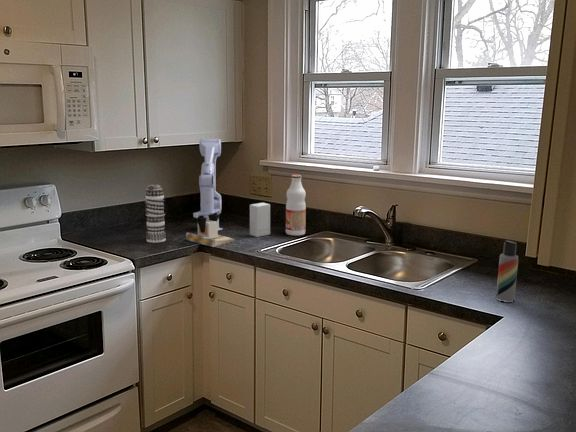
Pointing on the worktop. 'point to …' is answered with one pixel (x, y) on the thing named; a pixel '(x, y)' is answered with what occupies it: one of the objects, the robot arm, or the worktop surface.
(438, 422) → the worktop surface
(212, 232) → the carton
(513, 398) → the worktop surface
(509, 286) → the lotion bottle
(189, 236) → the tan flat slab
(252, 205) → the skincare box
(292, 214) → the fruit juice
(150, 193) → the grey striped cylinder
